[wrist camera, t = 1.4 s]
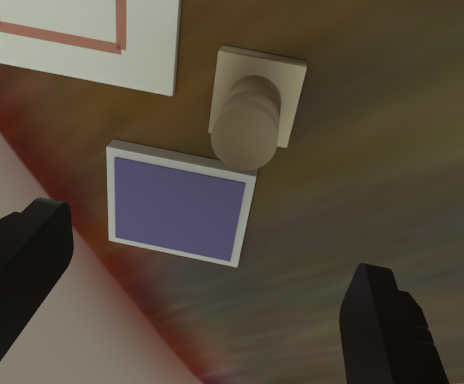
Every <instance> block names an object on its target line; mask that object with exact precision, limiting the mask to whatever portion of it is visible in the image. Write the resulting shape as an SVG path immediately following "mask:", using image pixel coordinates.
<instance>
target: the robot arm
mask: <svg viewBox="0 0 464 384" xmlns="http://www.w3.org/2000/svg"><path fill="white" fill-rule="evenodd" d="M73 244H74V243H73V233H72V221H71V211H70V206H69V204H68V203H65V202H60V201H55V200H50V199H45V198H37V199H35V200H34V201H33V202H32V203H31V204H30V205H29V206H28V207H27V208H26V209H25V210H24V211H22V212H21V213H19V212H13V213H11V214H9V215H7V216H5V217H3V218H1V219H0V361H1V359H2V358H3V357H4V355H5V354H6V353H7V351H8V350H9V348H10V347H11V345H12V344H13V343H14V341H15V340H16V339H17V337H18V336H19V335H20V333H21V332H22V330H23V329H24V328H25V326H26V325H27V323H28V322H29V321H30V319H31V318H32V316H33V315H34V314H35V312H36V311H37V309H38V308H39V307H40V305H41V304H42V302H43V301H44V300H45V298H46V297H47V295H48V294H49V293H50V291H51V290H52V288H53V287H54V286H55V284H56V283H57V281H58V280H59V279H60V277H61V276H62V274H63V273H64V271H65V270H66V269H67V267H68V266H69V264H70V261H71V259H72V255H73V250H74V245H73ZM339 325H340V333H341V340H342V348H343V356H344V363H345V371H346V379H347V384H449V382H448V379H447V376H446V374H445V371H444V368H443V365H442V363H441V360H440V357H439V355H438V352H437V349H436V346H434V341H433V338H432V336H431V333H430V331H428V325H427V322H426V319H425V317H424V314H423V311H422V309H421V308H420V306H419V305H418V304H417V303H416V301H415V300H414V299H413V298H412V296H411V295H410V294H409V293H408V292H405V291H400V290H398V287H397V284H396V281H395V278H394V275H393V272H392V270H391V269H389V268H384V267H379V266H374V265H369V264H364V263H361V264H359V266H358V267H357V269H356V272H355V274H354V276H353V278H352V281H351V283H350V285H349V288H348V290H347V292H346V295H345V297H344V299H343V302H342V305H341V309H340V316H339Z"/></svg>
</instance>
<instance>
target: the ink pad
mask: <svg viewBox="0 0 464 384" xmlns="http://www.w3.org/2000/svg"><path fill="white" fill-rule="evenodd" d="M106 151H107V187H108V223H109V241H114V242H119V243H123V244H128V245H133V246H138V247H142V248H147V249H152V250H157V251H161V252H166V253H171V254H176V255H180V256H185V257H190V258H195V259H199V260H204V261H209V262H214V263H218V264H223V265H228V266H233V267H238V262H239V257H240V252H241V248H242V243H243V238H244V234H245V229H246V224H247V219H248V215H249V210H250V205H251V201H252V196H253V191H254V186H255V182H256V177H257V171H258V168H257V169H254V170H247V171H244V170H237V169H234V168H231V167H229V166H227V165H226V164H224V163H223V162H222V161H220V160H215V159H210V158H205V157H200V156H195V155H190V154H185V153H180V152H175V151H170V150H165V149H160V148H155V147H150V146H145V145H140V144H135V143H130V142H125V141H120V140H115V139H113V140H112V141H111V142H110V144H109V145H108V146H107V147H106Z"/></svg>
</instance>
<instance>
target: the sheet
mask: <svg viewBox="0 0 464 384" xmlns="http://www.w3.org/2000/svg"><path fill="white" fill-rule="evenodd" d="M181 2H182V0H0V63H3V64H8V65H13V66H18V67H23V68H29V69H34V70H39V71H44V72H49V73H54V74H59V75H65V76H70V77H75V78H80V79H85V80H90V81H96V82H101V83H106V84H111V85H116V86H121V87H126V88H132V89H137V90H142V91H147V92H152V93H157V94H163V95H168V96H173V95H174V94H175V86H176V72H177V58H178V44H179V30H180V16H181Z"/></svg>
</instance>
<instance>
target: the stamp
mask: <svg viewBox="0 0 464 384" xmlns="http://www.w3.org/2000/svg"><path fill="white" fill-rule="evenodd" d="M306 69H307V63H306V60H305V59H299V58H294V57H289V56H283V55H278V54H273V53H268V52H262V51H257V50H252V49H246V48H241V47H236V46H230V45H225V44H223V46H222V47H221V48H220V49H219V51H218V58H217V66H216V74H215V82H214V90H213V98H212V106H211V114H210V122H209V129H208V133H211V144H212V148H213V151H214V152H215V154H216V156H217V157H218V158H219V159H220V160H221V161H222V162H223V163H224V164H226V165H227V166H229V167H231V168H234V169H237V170H244V171H247V170H254V169H257V168H260V167H262V166H264V165H265V164H266V163H268V162H269V161H270V160H271V158H272V157H273V155H274V153H275V151H276V148H277V146H278V147H283V148H287V145H288V141H289V137H290V133H291V129H292V125H293V121H294V117H295V113H296V109H297V105H298V101H299V97H300V93H301V89H302V85H303V81H304V77H305V73H306Z"/></svg>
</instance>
